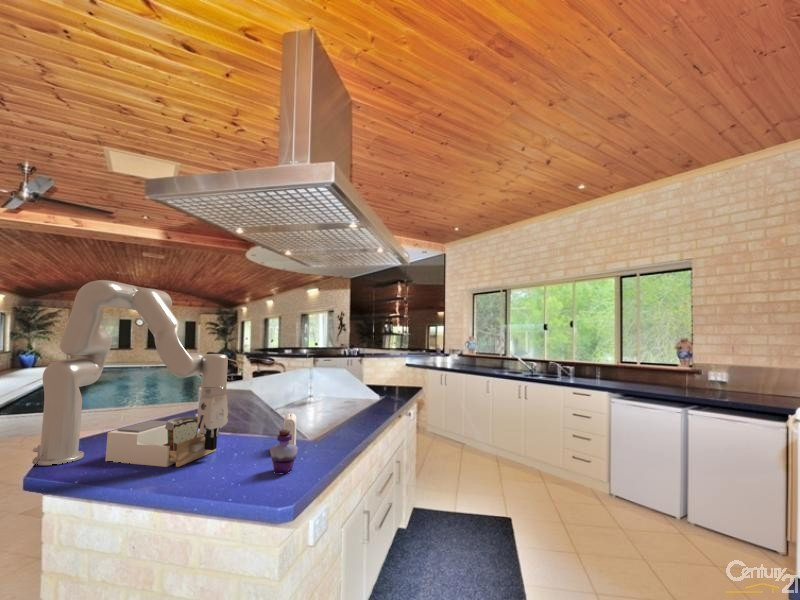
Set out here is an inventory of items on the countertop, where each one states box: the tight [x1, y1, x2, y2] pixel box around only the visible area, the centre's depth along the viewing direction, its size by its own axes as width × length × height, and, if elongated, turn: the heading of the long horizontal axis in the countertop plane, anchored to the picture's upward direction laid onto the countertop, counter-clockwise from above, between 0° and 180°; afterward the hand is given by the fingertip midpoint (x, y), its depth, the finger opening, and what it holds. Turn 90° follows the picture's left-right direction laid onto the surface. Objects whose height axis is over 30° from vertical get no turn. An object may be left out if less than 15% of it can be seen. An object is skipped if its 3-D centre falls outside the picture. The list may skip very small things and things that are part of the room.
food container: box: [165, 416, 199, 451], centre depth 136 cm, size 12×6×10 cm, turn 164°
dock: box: [105, 420, 204, 468], centre depth 137 cm, size 22×18×10 cm
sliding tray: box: [163, 435, 217, 468], centre depth 135 cm, size 14×18×7 cm
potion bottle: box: [269, 429, 299, 474], centre depth 124 cm, size 9×9×12 cm
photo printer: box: [283, 413, 298, 446], centre depth 148 cm, size 10×4×12 cm, turn 11°
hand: (210, 449), depth 133 cm, fingers closed
